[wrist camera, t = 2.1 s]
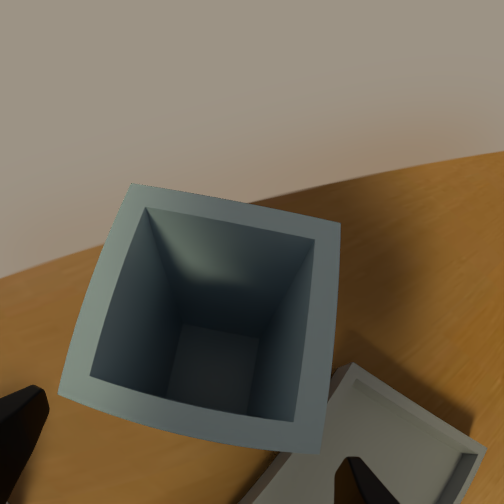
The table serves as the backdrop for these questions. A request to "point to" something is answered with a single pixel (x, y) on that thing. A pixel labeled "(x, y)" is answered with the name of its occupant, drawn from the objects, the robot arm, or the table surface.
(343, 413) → the shallow crate
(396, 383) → the table surface
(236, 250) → the slim crate
